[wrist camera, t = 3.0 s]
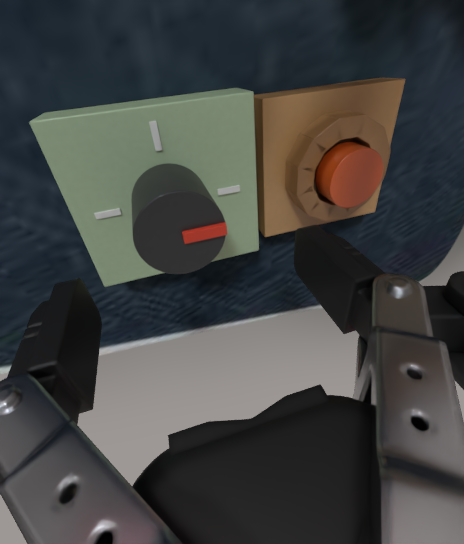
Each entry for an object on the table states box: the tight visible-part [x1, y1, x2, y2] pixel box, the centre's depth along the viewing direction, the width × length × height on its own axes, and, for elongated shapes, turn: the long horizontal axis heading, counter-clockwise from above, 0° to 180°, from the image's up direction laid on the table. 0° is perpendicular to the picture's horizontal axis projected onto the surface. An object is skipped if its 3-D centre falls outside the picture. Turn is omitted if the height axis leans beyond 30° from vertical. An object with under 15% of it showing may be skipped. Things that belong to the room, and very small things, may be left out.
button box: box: [254, 77, 405, 237], centre depth 20 cm, size 10×9×4 cm
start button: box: [316, 142, 383, 208], centre depth 18 cm, size 4×4×2 cm
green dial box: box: [30, 88, 259, 287], centre depth 18 cm, size 11×10×3 cm
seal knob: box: [131, 163, 227, 274], centre depth 15 cm, size 4×4×5 cm
